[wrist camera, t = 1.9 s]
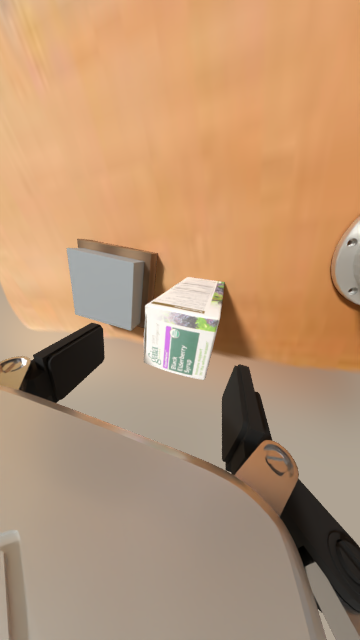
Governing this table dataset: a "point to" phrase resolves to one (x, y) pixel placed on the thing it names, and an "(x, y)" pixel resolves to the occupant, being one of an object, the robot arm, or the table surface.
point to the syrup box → (183, 327)
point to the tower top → (106, 287)
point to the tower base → (136, 254)
